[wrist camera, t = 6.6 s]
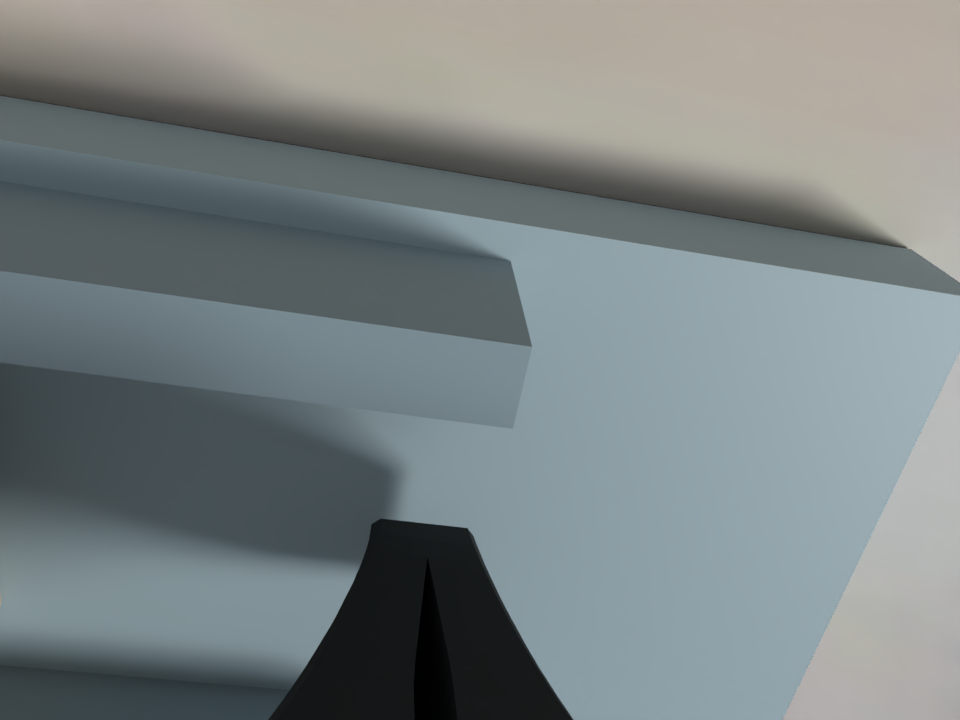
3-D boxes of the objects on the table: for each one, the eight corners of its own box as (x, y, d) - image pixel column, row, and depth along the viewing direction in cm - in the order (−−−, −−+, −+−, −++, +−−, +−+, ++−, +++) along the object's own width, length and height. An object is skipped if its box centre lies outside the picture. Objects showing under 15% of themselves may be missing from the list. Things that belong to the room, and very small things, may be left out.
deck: (717, 700, 18) (801, 925, 14) (-683, 575, 15) (-1100, 823, 11) (911, 249, 14) (1114, 388, 10) (-1027, -78, 10) (-1958, -74, 6)
